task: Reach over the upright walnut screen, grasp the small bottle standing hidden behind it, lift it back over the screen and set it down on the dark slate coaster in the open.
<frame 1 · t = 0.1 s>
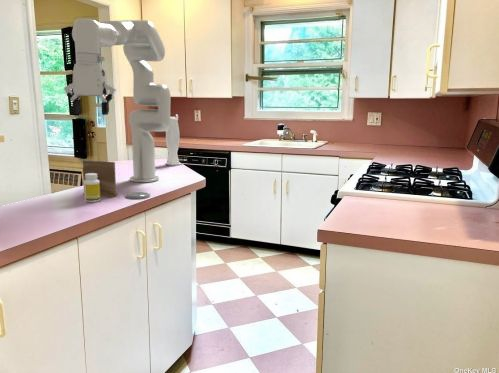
hand: (91, 114, 135), 31 cm above the worktop, tool pointing down, fingers open, 9 cm apart
skyscraper: (173, 165, 228), on the worktop
coaster: (138, 196, 155), on the worktop
supplement bottle: (92, 201, 147), on the worktop
screen: (100, 195, 155), on the worktop
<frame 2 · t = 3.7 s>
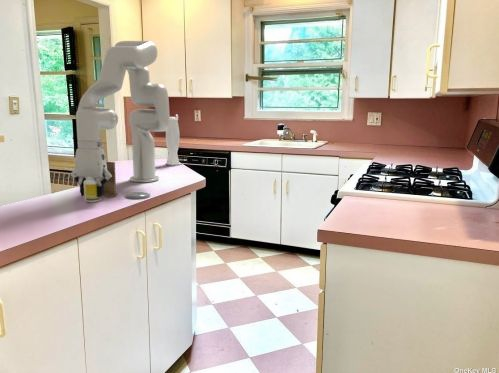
hand: (92, 195, 146), 2 cm above the worktop, tool pointing down, fingers closed on supplement bottle, 5 cm apart
supplement bottle: (92, 201, 147), on the worktop, touching gripper
everything else where it was.
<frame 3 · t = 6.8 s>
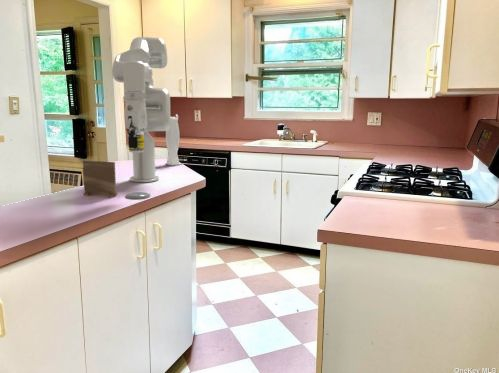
hand: (136, 146, 151), 19 cm above the worktop, tool pointing down, fingers closed on supplement bottle, 5 cm apart
supplement bottle: (136, 152, 151), point 17 cm above the worktop, touching gripper
everything else where it was.
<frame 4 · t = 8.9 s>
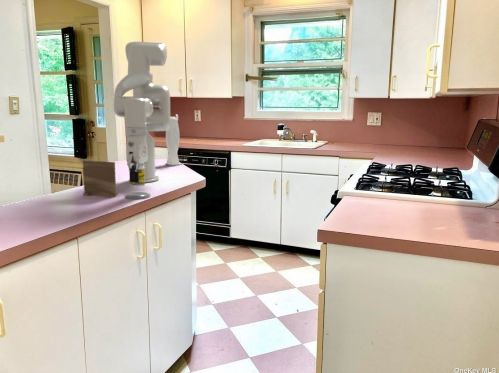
hand: (137, 180, 153), 6 cm above the worktop, tool pointing down, fingers closed on supplement bottle, 5 cm apart
supplement bottle: (137, 186, 154), point 4 cm above the worktop, touching gripper
everything else where it was.
when the fingers open (3 cm above the worktop, at t = 10.4 s): supplement bottle stays where it is, resting on coaster.
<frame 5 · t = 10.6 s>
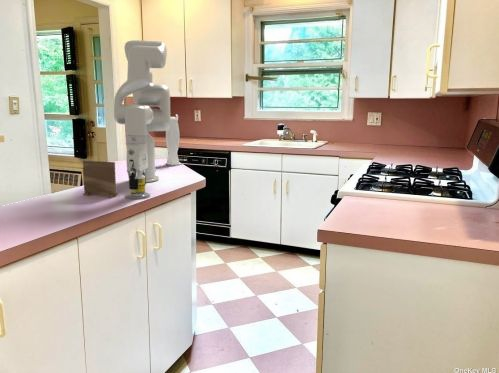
hand: (137, 186, 154), 4 cm above the worktop, tool pointing down, fingers open, 6 cm apart
supplement bottle: (138, 195, 155), resting on coaster
everything else where it was.
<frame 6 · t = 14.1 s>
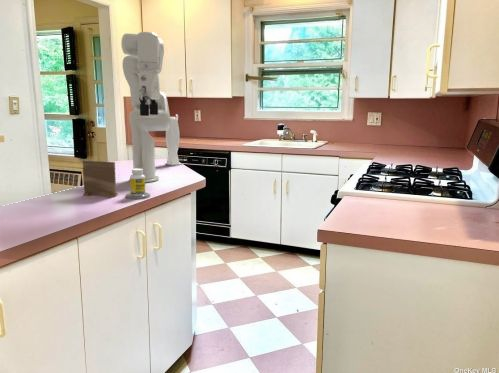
hand: (149, 115, 154), 30 cm above the worktop, tool pointing down, fingers open, 9 cm apart
nothing on the worktop moved.
at the end: supplement bottle inside the target area on the coaster (0.2 cm from its centre), point 0.4 cm above the coaster's base; supplement bottle tilted 0°; the gripper is holding nothing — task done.
